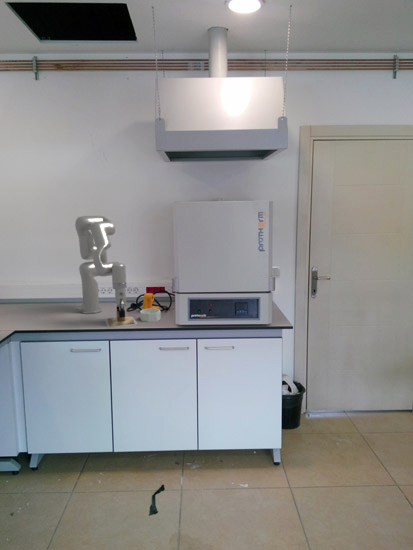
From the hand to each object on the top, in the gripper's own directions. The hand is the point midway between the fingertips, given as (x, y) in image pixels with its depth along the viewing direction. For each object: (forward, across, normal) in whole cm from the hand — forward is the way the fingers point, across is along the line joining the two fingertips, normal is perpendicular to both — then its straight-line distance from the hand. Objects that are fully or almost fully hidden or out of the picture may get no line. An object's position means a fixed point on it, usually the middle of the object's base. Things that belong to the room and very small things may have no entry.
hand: (121, 315), depth 217 cm
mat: (+5, 0, 0) cm, 5 cm away
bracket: (+5, +16, -21) cm, 27 cm away
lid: (+4, 0, 0) cm, 4 cm away
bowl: (+5, 0, -17) cm, 18 cm away
